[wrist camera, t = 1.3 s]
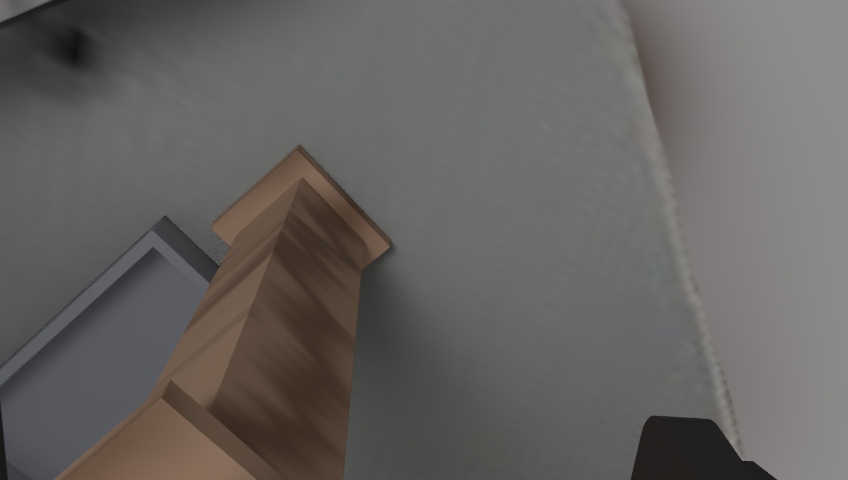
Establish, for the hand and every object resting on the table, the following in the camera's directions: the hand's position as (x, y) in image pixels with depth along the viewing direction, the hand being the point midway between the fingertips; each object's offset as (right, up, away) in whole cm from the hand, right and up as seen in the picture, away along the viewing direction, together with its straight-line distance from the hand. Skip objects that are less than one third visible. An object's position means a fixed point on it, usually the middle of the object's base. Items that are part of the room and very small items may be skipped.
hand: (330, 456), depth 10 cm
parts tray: (-21, -8, +48) cm, 53 cm away
